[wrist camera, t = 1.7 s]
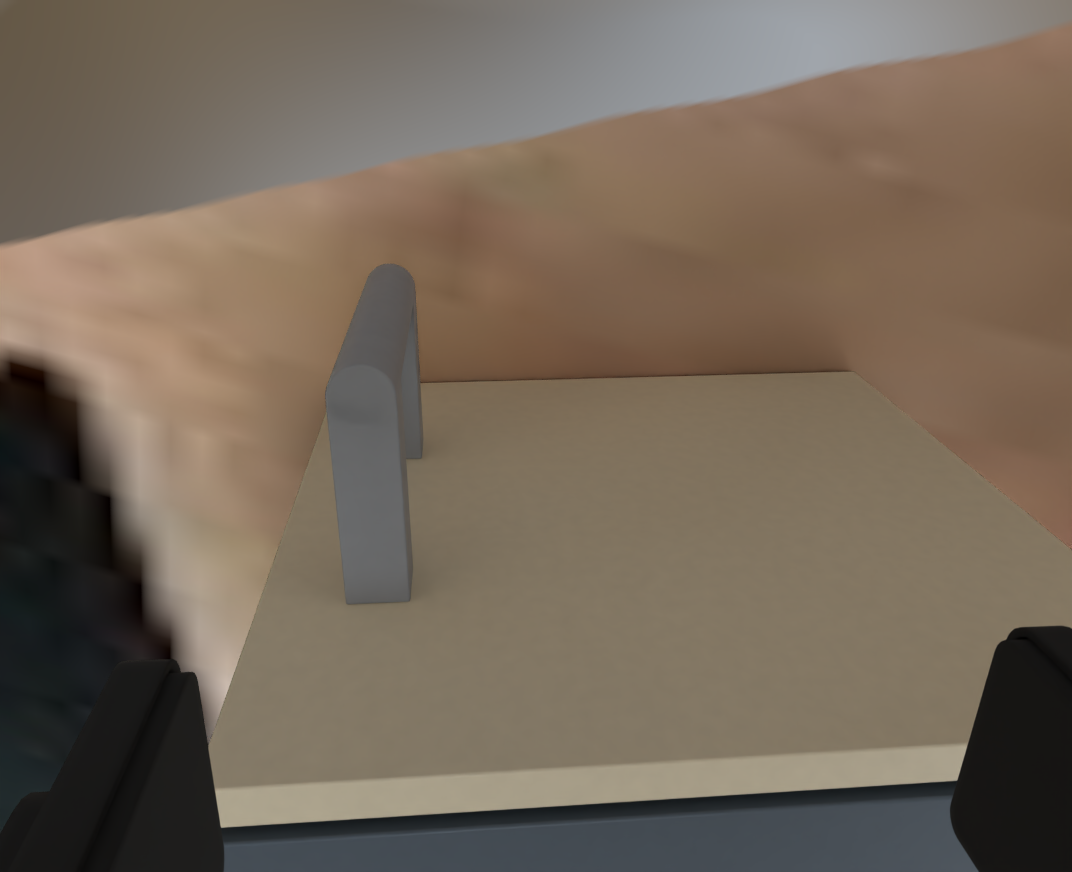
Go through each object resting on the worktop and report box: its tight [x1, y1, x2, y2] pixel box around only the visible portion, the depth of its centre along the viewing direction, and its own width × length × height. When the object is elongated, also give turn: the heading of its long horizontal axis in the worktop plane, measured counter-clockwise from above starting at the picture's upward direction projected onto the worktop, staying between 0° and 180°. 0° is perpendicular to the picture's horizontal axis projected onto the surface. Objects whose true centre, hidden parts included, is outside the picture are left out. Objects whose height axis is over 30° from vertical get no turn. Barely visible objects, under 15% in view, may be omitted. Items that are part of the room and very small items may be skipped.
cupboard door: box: [208, 264, 1072, 828], centre depth 26 cm, size 7×22×22 cm, turn 90°
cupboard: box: [221, 781, 979, 872], centre depth 31 cm, size 15×22×22 cm
